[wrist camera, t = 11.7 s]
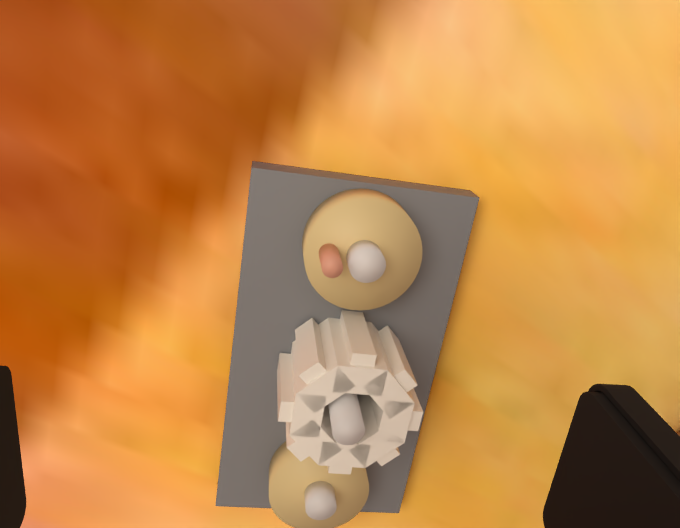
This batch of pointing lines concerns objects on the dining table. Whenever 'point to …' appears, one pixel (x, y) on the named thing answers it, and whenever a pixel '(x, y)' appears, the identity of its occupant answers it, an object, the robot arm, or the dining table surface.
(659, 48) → the dining table surface
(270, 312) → the gear board
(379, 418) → the loose gear
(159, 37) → the dining table surface
